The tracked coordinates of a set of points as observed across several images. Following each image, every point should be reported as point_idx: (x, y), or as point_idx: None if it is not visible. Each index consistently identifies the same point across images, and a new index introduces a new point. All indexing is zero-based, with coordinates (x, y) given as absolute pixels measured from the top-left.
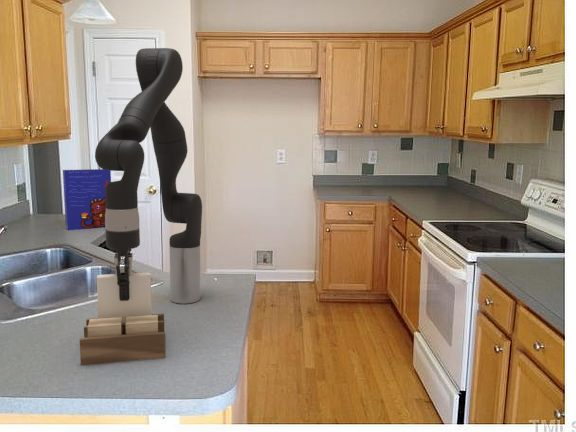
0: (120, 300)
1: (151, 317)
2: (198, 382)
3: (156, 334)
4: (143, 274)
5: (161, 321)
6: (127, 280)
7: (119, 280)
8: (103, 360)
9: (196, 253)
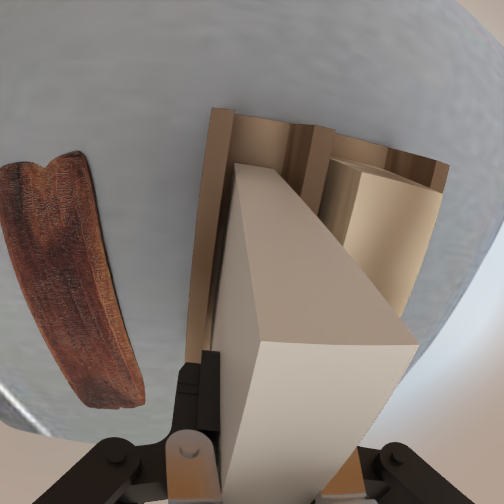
0: None
1: (383, 210)
2: (497, 115)
3: None
4: (334, 419)
5: (322, 141)
6: (429, 473)
7: (404, 500)
8: None
9: None
